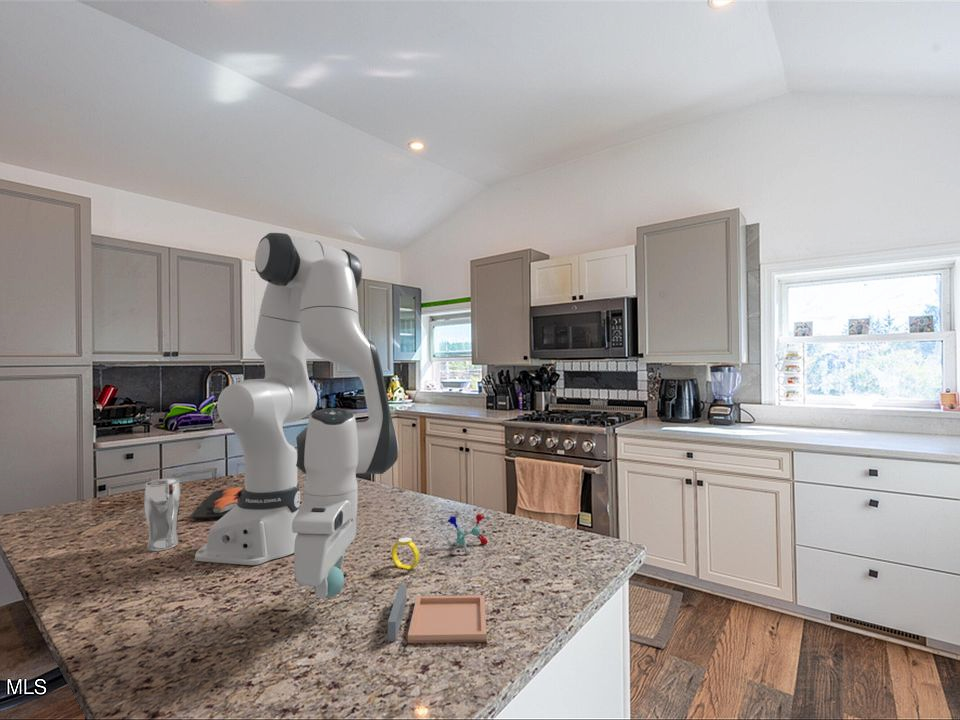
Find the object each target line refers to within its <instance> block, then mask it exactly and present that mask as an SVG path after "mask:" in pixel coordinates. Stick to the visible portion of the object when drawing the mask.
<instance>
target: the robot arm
mask: <svg viewBox="0 0 960 720" xmlns="http://www.w3.org/2000/svg"><path fill="white" fill-rule="evenodd" d="M254 264H255V265H254V266H255V270H256V273H257V274H258V276H259V277H260V279H261V280H263V281H265V282H267V284H266V286H265V290H264V293H263V297H262V299H261V300H262V301H261V304H260V309H259V312H258V320H257V325H256V332H255V337H254V344H253V348H254V351H255V353H256V354H257V356H259V357H260V358H261V359H262V362H263V365H264V372H265V373H264V378H253V379H251V378H249V379H244V380H241V381H238V382H235V383H232V384H230V385H228V386H226V387H225V388H224V389H223V390H222V391H221V392H220V394H219V396H218V399H217V404H216V405H217V406H216V408H217V409H216V410H217V414H218V416H219V419H220V420H221V422H222V424H224V425H225V426H226V427H228V428H229V429H230V430H232V431H233V433H234V434H235V436H236V438H237V439H238V441H239V444H240V446H241V449H242V455H243V459H244V460H243V462H244V486H243V487H242V488H243V489H242V490H240V491H238V492H237V494H235V495H233V496H235V497H234V499H233V500H236V499H237V502H238V503H237V506H235V507H234V508H233V509H231V510H230V511H229V512H228V513H226V514H225V515H224V516H223V517H219V519H218V520H217V521H215V522H214V524H213V525H212V526H211V527H210V530H209V532H208V535H207V541H206V543H204V544H203V545H202V546H200V547H199V548H198V550H196V552H195V554H194V560H195V561H197V562H205V563H206V562H207V563H219V564H220V563H221V564H233V565H244V566H245V565H247V566H258V565H261V564H263V563H266V562H269V561H272V560H276V559H279V558H284V557H287V556H289V555H292V554H294V555H293V559H294V560H293V562H294V578H295V580H296V583H297V584H298V585H299V586H308V587H314V586H315V587H316V592H315V598H317V599H326V598H325V597H326V596H327V595H328V593H329V583H328V582H327V577H328V573H329V572H330V571H331V569H332V568H333V567H334V566H335V567H337V568H339V569H340V570H341V571H343V569H342V568H343V563H344V560H345V559H344V558H345V554H346V550H347V549H348V548H349V546H350V545H351V544H352V543H353V542H354V540H355V539H356V535H357V515H358V498H359V497H358V494H359V493H358V489H359V486H358V485H359V484H358V481H357V475H356V474H366V475H383V474H384V473H385V472H387V471H389V469H391V468H392V466H393V465H395V463H397V461H398V457H399V440H398V437H397V433H396V429H395V427H394V422H393V418H392V414H391V410H390V405H389V403H390V402H389V398H388V395H387V393H388V392H387V389H386V384H385V378H384V372H383V369H382V368H383V367H382V364H381V359H380V355H379V352H378V349H377V347H376V345H375V343H374V341H372V340H370V339H368V338H367V337H366V335H365V334H364V332H363V330H362V328H361V327H362V326H361V324H360V319H359V317H360V316H359V298H358V288H359V286H360V283H361V280H362V277H363V271H362V270H363V267H362V264H361V261H360V259H359V257H358V256H357V255H355V254H353V253H352V252H350V251H348V250H346V249H340V248H338V247H336V246H334V245H331V244H328V243H326V242H322V241H319V240H312V239H308V238H305V237H304V238H302V237H297V236H292V235H289V234H288V233H282V232H269V233H267V234H266V235H264V236H263V237H262V238H261V239H260V241H259V243H258V245H257V248H256V250H255V255H254ZM307 350H310V352H312V353H313V354H315V355H316V356H318V357H320V358H321V359H323V360H325V361H327V362H330V363H334V364H336V365H338V366H341V367H343V368H346V369H348V370H350V371H352V372H353V373H354V374H355V375H357V376H358V378H359V379H360V381H361V384H362V387H363V392H364V399H365V405H366V409H367V415H368V419H367V420H366V421H361V422H357V420H356V416H355V414H354V413H353V412H351V411H349V410H347V409H342V408H332V407H331V408H329V407H328V408H322V409H319V410H316V411H315V409H316V407H317V403H318V393H317V390H316V388H315V387H314V385H313V384H312V383H311V380H310V379H309V373H308V367H307V366H308V365H307V364H308V363H307V352H308V351H307ZM307 416H309V417H308V421H307V426H306V427H305V428H304V429H302V430H301V432H300V433H299V434H297V436H296V438H295V439H296V447H295V446H293V445H292V444H291V443H289V442H288V440H287V438H286V436H285V433H284V428H283V425H286V424H291V423H295V422H298V421H300V420H302V419H304V418H306V417H307ZM298 469H299V470H300V471H301V472H302V473H303V474H305V475H306V477H305V483H304V485H303V499H302V500H301V492H300V491H301V490H300V484H299V482H298ZM300 501H301V502H302V503H300Z"/></svg>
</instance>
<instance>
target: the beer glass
mask: <svg viewBox="0 0 960 720" xmlns="http://www.w3.org/2000/svg"><path fill="white" fill-rule="evenodd" d="M180 487H181V485H180V479H179V478H172V477H171V478H160V479H154V480H151V481H147V482H146V483H145V489H144V498H143V499H144V500H143V501H144V512H145V518H146V523H147V526H148V540H147V545H146V550H147V552H148V551H149V552H162V551H167V550H169V549H170V550H171V549H172V548H175V547H176V546H178V545H179V539H178V533H177V524H178V519H179V518H178V517H179V514H180V513H179V512H180V507H181V488H180Z"/></svg>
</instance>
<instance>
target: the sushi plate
mask: <svg viewBox="0 0 960 720" xmlns="http://www.w3.org/2000/svg"><path fill="white" fill-rule="evenodd" d="M242 489H243V487H230V488H226V489H219V490H214V491H213V492H212V493H211V494H210V495H209V496H208V497H207V498H206V499H205V500H204V501H203V503H202V504H200V506H199V507H198V508H197V509H196V510H195V511H194V513H192V518H194V519H217V518H219V519H220V518H222V517H223V516H224V515H225V514H226V513H228V512H229V511H230V510H231V509H233V508H234V507H235V506H237V503H238V502H237V499H236V500H233V499H234V497H235V496H233V495H235V494H237V492H238V491H240V490H242ZM301 503H302V500H300V504H301Z"/></svg>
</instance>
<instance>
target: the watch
mask: <svg viewBox="0 0 960 720" xmlns="http://www.w3.org/2000/svg"><path fill="white" fill-rule="evenodd" d="M397 541H398V542H395V544H393V546H392V549H391V558H392V561H393V563H394V565H395V566H396V567H397V568H398V569H402V568H403V570H408V571H411V570H412V569H413V568H415V567H416V566H417V565H418V564H419V560H420V551H419V549H418V547H417V545H416V544H415V543H414V542H413V540H412V537H407V536H406V537H405V536H404V537H400V538H398V540H397ZM399 545H400V546H408V547H409V548H410V549H411V551H412V553H413V558H414V561H413V562H412V565H408V564H405V563H402V562H401V561H400V559H399V557H398V554H397V553H398V552H397V551H398V547H399Z"/></svg>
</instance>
